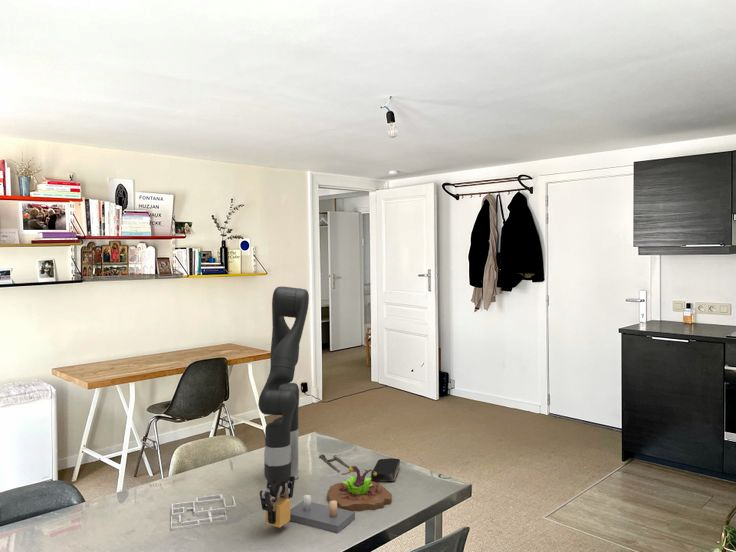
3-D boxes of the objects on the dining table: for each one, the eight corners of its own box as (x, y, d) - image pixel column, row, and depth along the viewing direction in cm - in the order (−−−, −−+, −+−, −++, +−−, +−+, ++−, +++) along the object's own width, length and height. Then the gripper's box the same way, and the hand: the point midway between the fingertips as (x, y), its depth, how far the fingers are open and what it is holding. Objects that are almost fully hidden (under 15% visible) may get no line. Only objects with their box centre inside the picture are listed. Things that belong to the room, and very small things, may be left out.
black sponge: (394, 484, 193) (394, 474, 193) (369, 482, 195) (369, 472, 195) (400, 468, 209) (400, 458, 209) (378, 466, 211) (378, 456, 211)
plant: (319, 492, 187) (319, 458, 187) (373, 483, 194) (373, 451, 194) (339, 517, 168) (339, 480, 168) (398, 507, 176) (398, 471, 176)
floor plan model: (230, 490, 189) (230, 484, 189) (238, 522, 165) (238, 515, 165) (171, 497, 183) (171, 491, 183) (171, 532, 159) (170, 525, 159)
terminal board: (285, 519, 166) (285, 499, 166) (303, 506, 175) (303, 487, 175) (338, 533, 158) (338, 511, 158) (354, 518, 167) (355, 498, 167)
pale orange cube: (265, 523, 159) (265, 502, 159) (276, 516, 164) (276, 496, 163) (279, 527, 157) (279, 506, 157) (290, 520, 161) (290, 499, 161)
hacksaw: (318, 457, 220) (318, 454, 220) (342, 453, 225) (342, 450, 225) (344, 479, 199) (344, 474, 199) (370, 474, 203) (370, 469, 203)
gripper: (281, 450, 168) (281, 506, 168) (251, 465, 155) (251, 526, 156) (303, 454, 164) (303, 511, 165) (273, 470, 152) (273, 533, 152)
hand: (277, 518), depth 160 cm, fingers closed on pale orange cube, 5 cm apart
